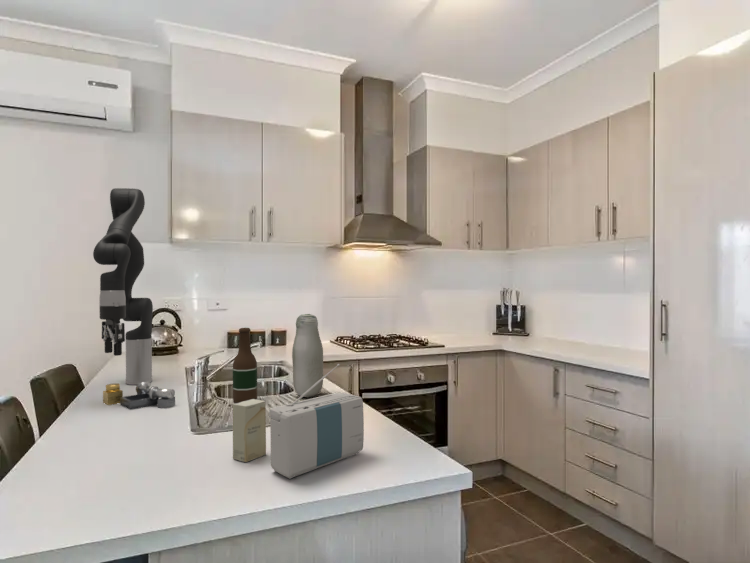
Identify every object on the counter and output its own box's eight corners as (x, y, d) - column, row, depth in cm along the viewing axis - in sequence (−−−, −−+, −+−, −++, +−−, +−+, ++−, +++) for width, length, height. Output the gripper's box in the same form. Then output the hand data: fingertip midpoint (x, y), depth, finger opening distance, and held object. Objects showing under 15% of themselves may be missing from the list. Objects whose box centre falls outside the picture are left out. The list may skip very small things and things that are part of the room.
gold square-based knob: (103, 403, 157) (102, 384, 157) (118, 400, 160) (117, 382, 160) (107, 405, 154) (107, 386, 154) (122, 402, 157) (122, 384, 157)
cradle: (120, 404, 154) (120, 397, 154) (148, 399, 160) (148, 392, 160) (130, 409, 148) (130, 401, 148) (158, 404, 155) (158, 396, 155)
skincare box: (246, 463, 103) (245, 406, 103) (231, 459, 106) (231, 404, 106) (267, 454, 109) (266, 400, 109) (253, 450, 111) (252, 398, 111)
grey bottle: (310, 391, 170) (309, 312, 170) (328, 396, 163) (328, 313, 163) (287, 396, 163) (286, 314, 163) (305, 401, 156) (304, 315, 156)
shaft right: (148, 407, 151) (148, 388, 151) (157, 403, 155) (157, 385, 155) (167, 408, 149) (167, 389, 149) (176, 404, 154) (176, 386, 154)
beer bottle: (227, 403, 155) (227, 328, 155) (242, 397, 162) (242, 326, 162) (247, 405, 152) (247, 329, 152) (262, 399, 159) (261, 327, 159)
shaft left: (149, 400, 160) (149, 382, 160) (135, 401, 159) (134, 383, 159) (153, 395, 167) (153, 378, 167) (139, 396, 165) (139, 379, 165)
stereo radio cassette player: (289, 483, 93) (288, 380, 93) (265, 472, 99) (264, 374, 99) (365, 454, 108) (364, 365, 108) (340, 446, 114) (340, 361, 114)
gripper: (92, 304, 159) (93, 353, 159) (107, 305, 149) (108, 357, 149) (117, 303, 165) (117, 350, 165) (133, 304, 155) (133, 354, 155)
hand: (113, 354), depth 157 cm, fingers open, 8 cm apart
